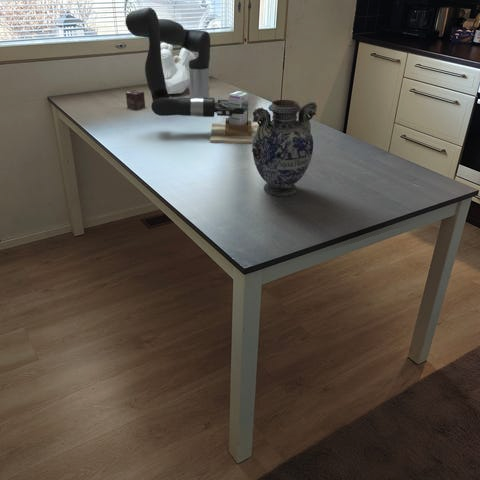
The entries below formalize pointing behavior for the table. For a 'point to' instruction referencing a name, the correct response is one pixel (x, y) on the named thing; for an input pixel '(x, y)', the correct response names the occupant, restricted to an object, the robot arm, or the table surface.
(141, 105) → the box
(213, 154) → the table surface
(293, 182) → the decorative vase
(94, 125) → the table surface
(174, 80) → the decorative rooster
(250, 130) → the socket board
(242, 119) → the syrup box
